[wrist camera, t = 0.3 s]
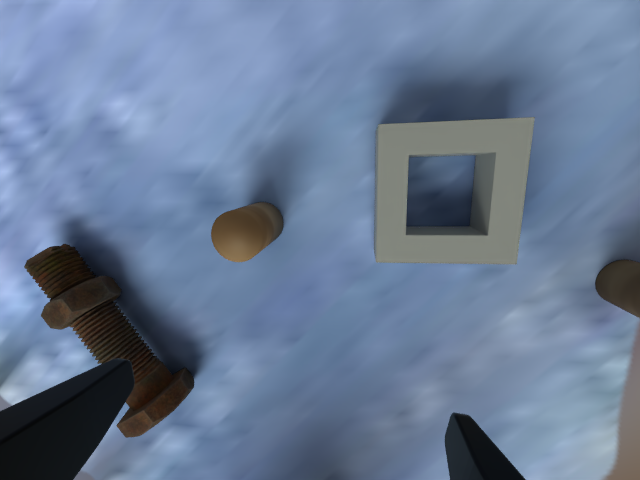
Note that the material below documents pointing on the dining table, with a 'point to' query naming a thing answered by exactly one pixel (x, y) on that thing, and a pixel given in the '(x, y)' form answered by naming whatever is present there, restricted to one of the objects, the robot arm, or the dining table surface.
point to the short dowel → (246, 231)
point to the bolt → (107, 334)
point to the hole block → (487, 198)
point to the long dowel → (621, 285)
